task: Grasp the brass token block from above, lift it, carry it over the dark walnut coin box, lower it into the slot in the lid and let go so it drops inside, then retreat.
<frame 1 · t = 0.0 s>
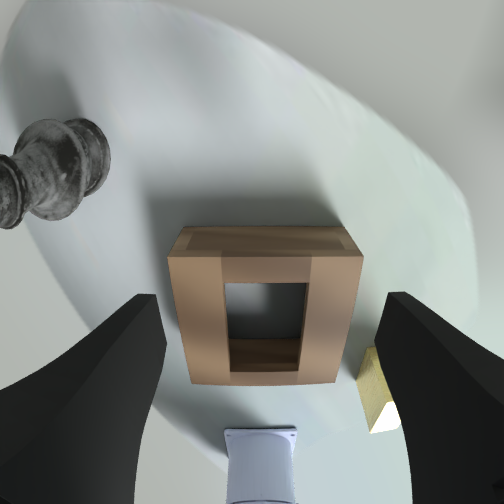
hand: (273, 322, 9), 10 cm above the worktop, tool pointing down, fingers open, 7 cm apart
brass token: (373, 363, 24), on the worktop
walnut box: (263, 294, 21), on the worktop
salt shaker: (77, 157, 17), on the worktop
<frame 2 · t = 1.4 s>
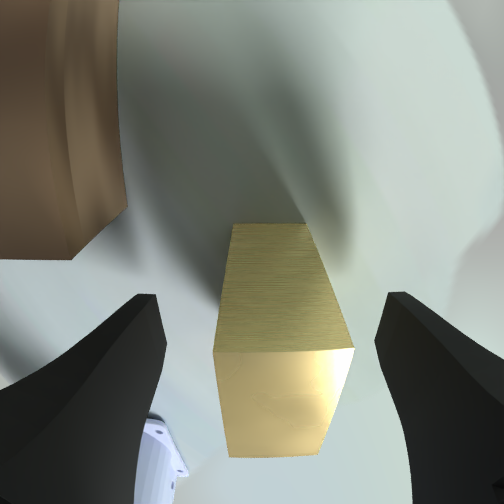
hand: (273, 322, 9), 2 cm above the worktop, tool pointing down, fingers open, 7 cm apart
brass token: (269, 279, 11), on the worktop
walnut box: (13, 99, 8), on the worktop
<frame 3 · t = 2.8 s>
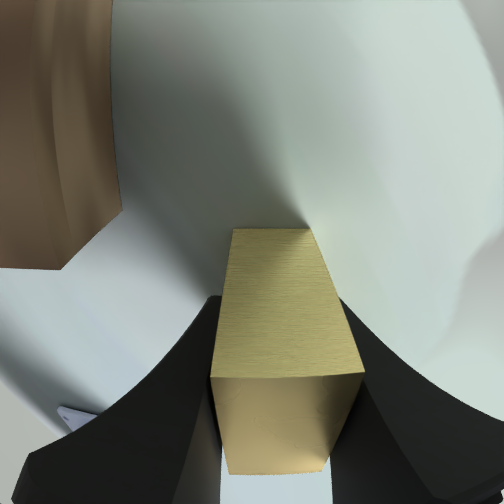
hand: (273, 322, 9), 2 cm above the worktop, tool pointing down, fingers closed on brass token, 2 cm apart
brass token: (271, 287, 11), on the worktop, touching gripper
walnut box: (5, 98, 7), on the worktop
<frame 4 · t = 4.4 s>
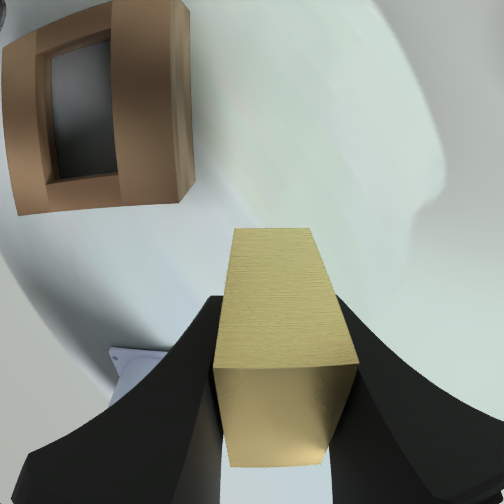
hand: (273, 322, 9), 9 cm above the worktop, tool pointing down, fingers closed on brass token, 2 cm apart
brass token: (271, 285, 11), point 7 cm above the worktop, touching gripper
walnut box: (107, 105, 14), on the worktop
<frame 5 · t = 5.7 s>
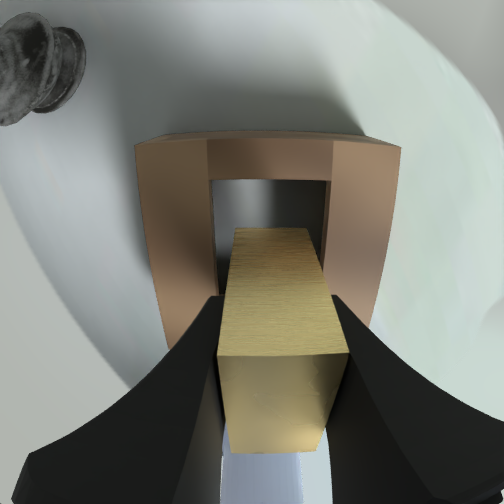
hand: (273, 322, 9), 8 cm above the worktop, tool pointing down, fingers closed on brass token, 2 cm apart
brass token: (269, 281, 12), point 5 cm above the worktop, touching gripper
walnut box: (266, 227, 16), on the worktop
salt shaker: (51, 69, 12), on the worktop
when the fingers open (5 cm above the worktop, at t = 6.4 s): brass token drops 2 cm, resting in walnut box.
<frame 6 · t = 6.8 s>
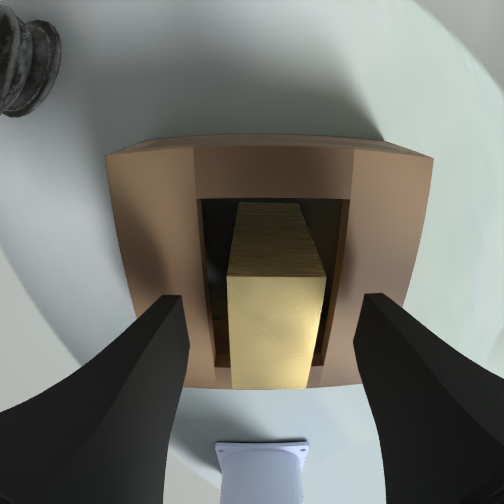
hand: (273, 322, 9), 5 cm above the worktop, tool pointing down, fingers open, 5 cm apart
brass token: (266, 250, 14), resting in walnut box
walnut box: (267, 246, 14), on the worktop
salt shaker: (25, 68, 10), on the worktop
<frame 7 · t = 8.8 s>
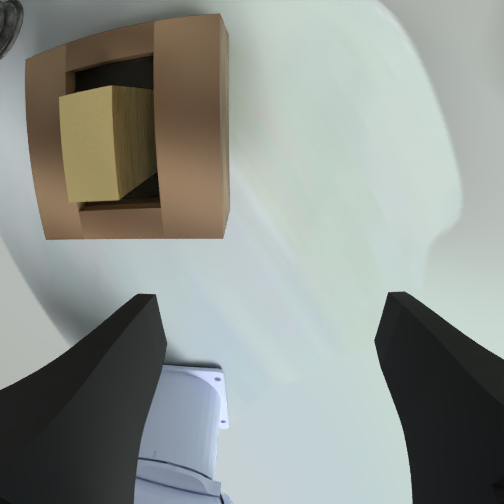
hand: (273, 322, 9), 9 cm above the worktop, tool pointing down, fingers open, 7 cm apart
brass token: (139, 130, 15), resting in walnut box
walnut box: (139, 127, 15), on the worktop
salt shaker: (1, 31, 11), on the worktop
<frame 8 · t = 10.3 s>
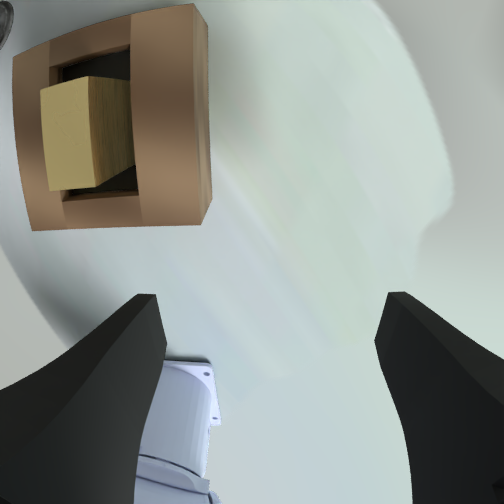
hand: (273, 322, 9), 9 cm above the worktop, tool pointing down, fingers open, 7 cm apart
brass token: (122, 123, 15), resting in walnut box
walnut box: (122, 120, 15), on the worktop
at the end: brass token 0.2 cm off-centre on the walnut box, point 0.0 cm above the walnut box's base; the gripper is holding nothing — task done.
